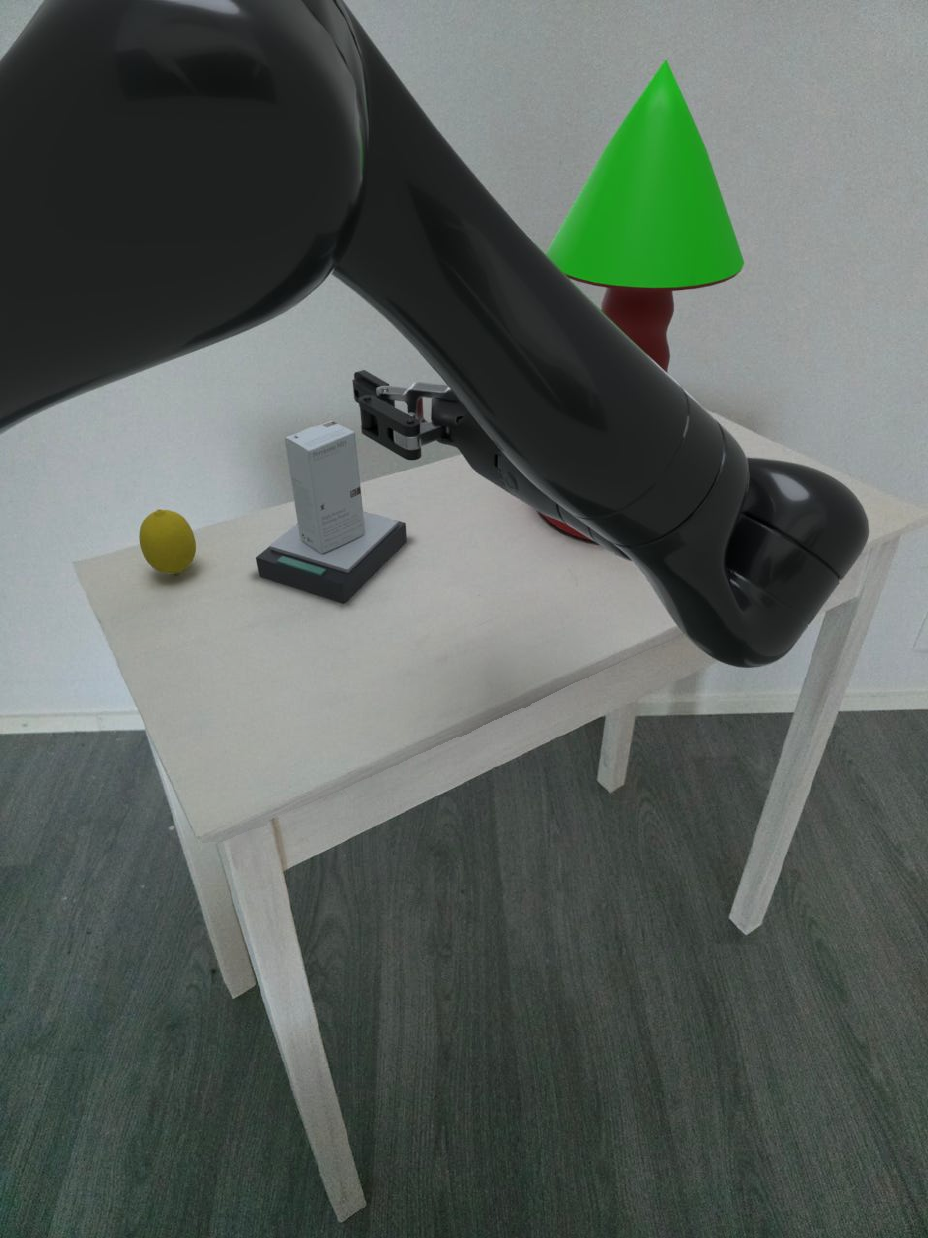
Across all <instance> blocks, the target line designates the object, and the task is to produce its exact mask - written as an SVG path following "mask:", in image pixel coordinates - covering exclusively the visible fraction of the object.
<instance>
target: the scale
mask: <svg viewBox="0 0 928 1238" xmlns="http://www.w3.org/2000/svg"><path fill="white" fill-rule="evenodd" d="M363 516H364V526H365V533H364V534H363V535H362V536H360V537H358V538H356V539H354V540H352V541H350V542H348V543H346V544H344V545H341V546H339V547H337V548H335V549H332V550H330V551H328V552H326V553H323V554H321V553H319V552H318V551H316V550H315V549H313V548H312V547H310V546H309V545H307V544H306V543H305V542H304V541H302V540H301V539H300V535H299V528H298V522H297V523H296V524H295V525H293V526H292V527H290V529H288V530H286V532H285V533H284V534H282V535H281V536H279V537H278V539H276V540H275V541H274V542H273V543H271V544H270V545H269V546H268V547H266V549H265V550H263V551H262V552H261V553H259V554H257V556H256V557H255V561H256V566H257V572H258V576H259V577H261V578H263V579H267V580H269V581H273V582H275V583H279V584H282V585H285V586H288V587H290V588H295V589H297V590H300V591H304V592H307V593H310V594H312V595H316V596H318V597H322V598H326V599H329V600H332V601H335V602H338V603H341V604H346V603H347V602H348V601H349V600H350V599H351V597H353V596H354V595H355V594H356V593H357V592H358V591H359V590H360V589H361V588H362V587H363V586H364V585H365V584H366V583H367V582H368V581H369V580H370V579H371V578H372V577H373V576H374V575H375V574H376V573H377V572H378V571H379V570H380V569H381V568H382V567H383V566H384V565H385V563H387V562H388V561H389V560H390V559H391V558H392V557H393V556H394V555H395V554H396V553H397V552H398V551H399V550H400V549H401V548H402V547H403V546H404V545H405V544H406V543H407V542H408V537H407V535H408V534H407V523H406V522H404V521H400V520H397V519H393V518H389V517H385V516H382V515H378V514H374V513H371V512H367V511H364V510H363Z"/></svg>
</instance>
